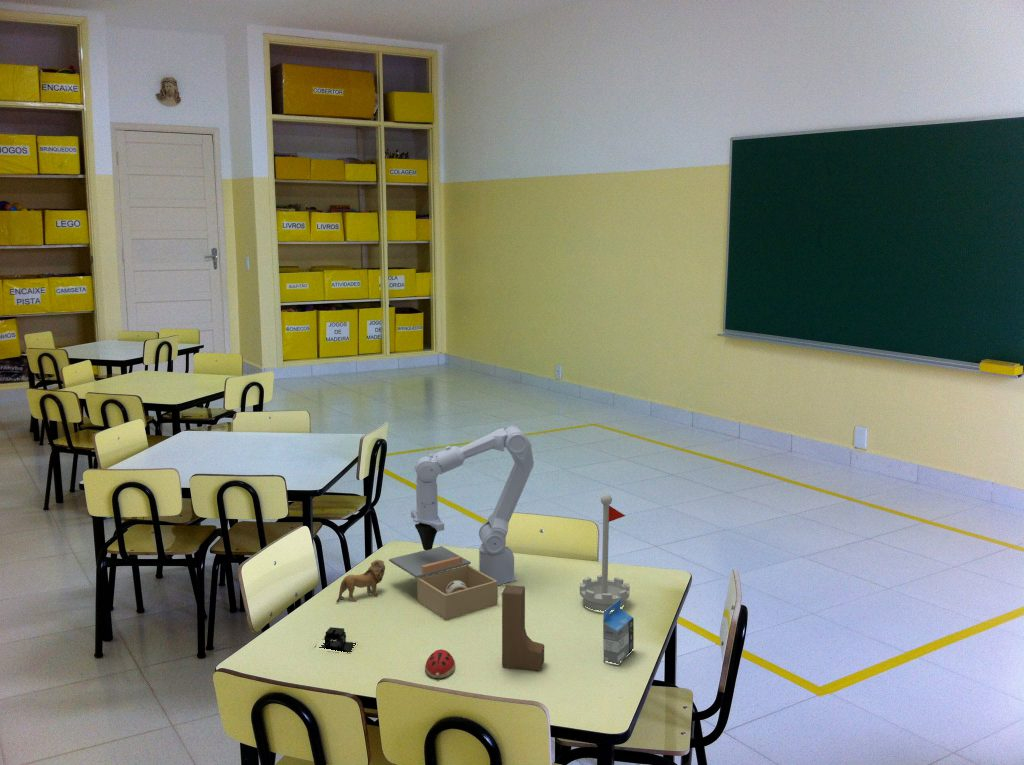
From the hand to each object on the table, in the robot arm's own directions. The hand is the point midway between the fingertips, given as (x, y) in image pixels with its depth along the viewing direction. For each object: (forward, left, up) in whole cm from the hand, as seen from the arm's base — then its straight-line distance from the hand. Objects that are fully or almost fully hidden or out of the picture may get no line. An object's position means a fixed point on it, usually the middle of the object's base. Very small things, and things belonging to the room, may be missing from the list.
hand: (427, 549), depth 245 cm
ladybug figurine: (+22, +43, -11) cm, 49 cm away
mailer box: (0, +15, -10) cm, 18 cm away
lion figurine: (+18, -4, -11) cm, 21 cm away
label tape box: (-14, +62, -11) cm, 64 cm away
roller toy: (0, +15, -11) cm, 18 cm away
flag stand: (-31, +38, -11) cm, 50 cm away
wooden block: (+6, +52, -11) cm, 53 cm away
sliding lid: (0, +1, -4) cm, 4 cm away
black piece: (+37, +19, -11) cm, 43 cm away
